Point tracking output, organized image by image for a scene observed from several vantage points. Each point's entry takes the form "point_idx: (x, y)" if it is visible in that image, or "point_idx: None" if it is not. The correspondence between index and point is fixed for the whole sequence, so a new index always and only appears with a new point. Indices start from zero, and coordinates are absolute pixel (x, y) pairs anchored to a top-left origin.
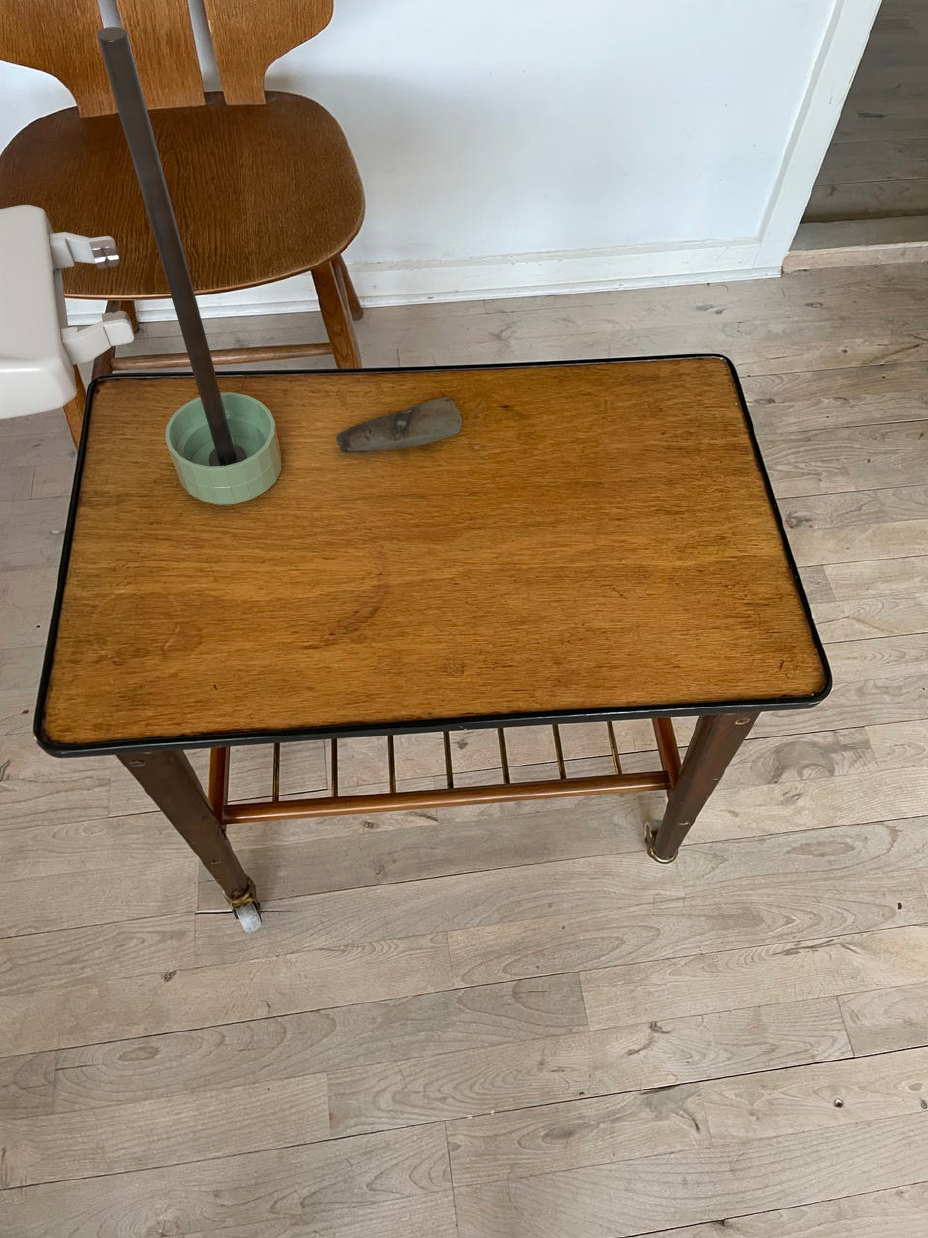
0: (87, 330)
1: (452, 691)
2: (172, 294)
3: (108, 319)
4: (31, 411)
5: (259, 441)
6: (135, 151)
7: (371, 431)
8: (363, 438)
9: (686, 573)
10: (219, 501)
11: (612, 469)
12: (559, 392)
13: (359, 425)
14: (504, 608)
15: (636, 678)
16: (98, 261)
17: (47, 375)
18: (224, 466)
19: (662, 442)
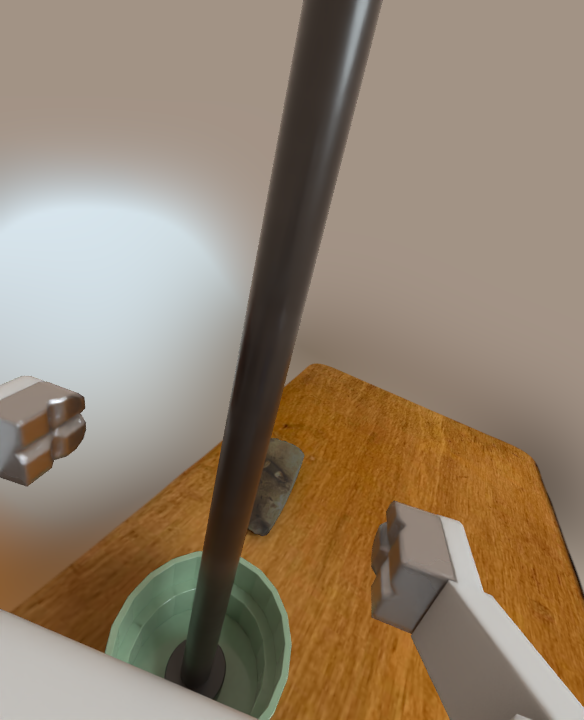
0: (529, 671)
1: (571, 630)
2: (256, 432)
3: (445, 556)
4: None
5: (190, 607)
6: (366, 31)
7: (270, 497)
8: (270, 508)
9: (451, 446)
10: None
11: (364, 423)
12: (292, 403)
13: (255, 501)
14: (474, 538)
15: (534, 510)
16: (31, 459)
17: None
18: (282, 677)
19: (354, 399)
